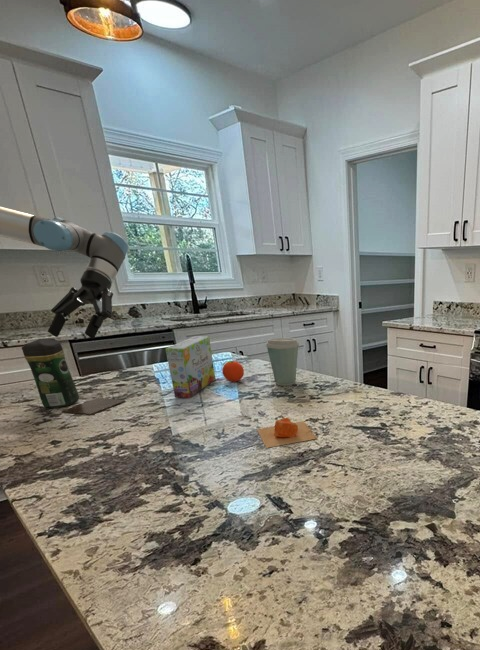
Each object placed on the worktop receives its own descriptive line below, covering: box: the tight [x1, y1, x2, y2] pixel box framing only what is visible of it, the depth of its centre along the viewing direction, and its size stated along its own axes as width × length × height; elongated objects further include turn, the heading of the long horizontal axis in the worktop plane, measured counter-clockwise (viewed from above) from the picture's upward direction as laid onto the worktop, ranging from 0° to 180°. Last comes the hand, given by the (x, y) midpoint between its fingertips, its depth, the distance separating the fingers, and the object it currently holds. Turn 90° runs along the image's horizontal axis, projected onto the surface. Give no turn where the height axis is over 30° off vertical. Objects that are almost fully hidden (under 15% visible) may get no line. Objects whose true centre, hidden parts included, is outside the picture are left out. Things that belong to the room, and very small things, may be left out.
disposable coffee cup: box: [265, 337, 300, 387], centre depth 137 cm, size 11×11×15 cm
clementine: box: [221, 360, 245, 383], centre depth 142 cm, size 8×7×7 cm
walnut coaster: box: [61, 397, 126, 416], centre depth 120 cm, size 10×12×1 cm
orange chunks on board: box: [256, 417, 318, 449], centre depth 100 cm, size 12×12×4 cm
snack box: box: [165, 335, 217, 399], centre depth 133 cm, size 21×6×15 cm, turn 1°
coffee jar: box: [21, 337, 80, 409], centre depth 119 cm, size 10×8×19 cm
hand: (70, 335), depth 123 cm, fingers open, 13 cm apart
